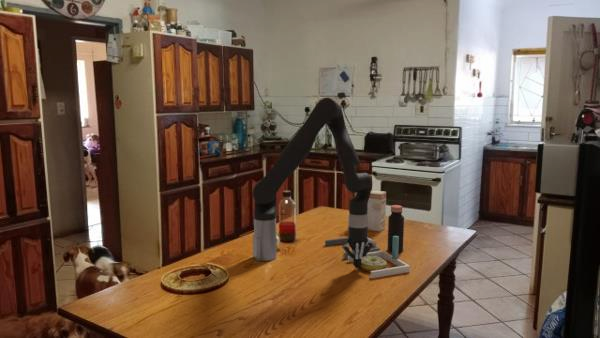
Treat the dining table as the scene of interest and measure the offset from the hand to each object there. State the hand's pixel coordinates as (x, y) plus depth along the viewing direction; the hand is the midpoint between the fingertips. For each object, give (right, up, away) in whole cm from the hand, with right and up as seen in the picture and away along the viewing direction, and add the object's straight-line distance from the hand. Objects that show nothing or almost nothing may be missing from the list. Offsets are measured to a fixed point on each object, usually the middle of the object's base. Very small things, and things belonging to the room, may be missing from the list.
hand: (357, 267), depth 180 cm
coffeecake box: (+13, +8, +57) cm, 59 cm away
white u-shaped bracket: (+9, -1, +4) cm, 10 cm away
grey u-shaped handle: (0, +3, +24) cm, 24 cm away
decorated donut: (+7, -1, +3) cm, 7 cm away
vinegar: (+20, +2, +23) cm, 30 cm away
